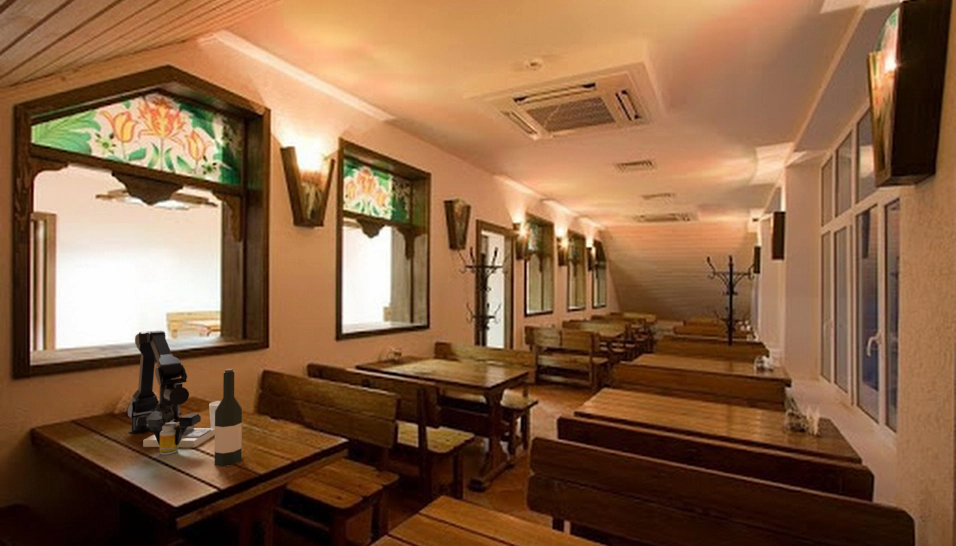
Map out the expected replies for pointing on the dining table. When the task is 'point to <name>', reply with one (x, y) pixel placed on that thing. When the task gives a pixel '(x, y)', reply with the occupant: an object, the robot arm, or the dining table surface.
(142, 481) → the dining table surface
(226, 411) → the wine bottle
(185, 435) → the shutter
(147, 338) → the robot arm
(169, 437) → the supplement bottle
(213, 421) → the white cup
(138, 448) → the dining table surface
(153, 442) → the socket board
